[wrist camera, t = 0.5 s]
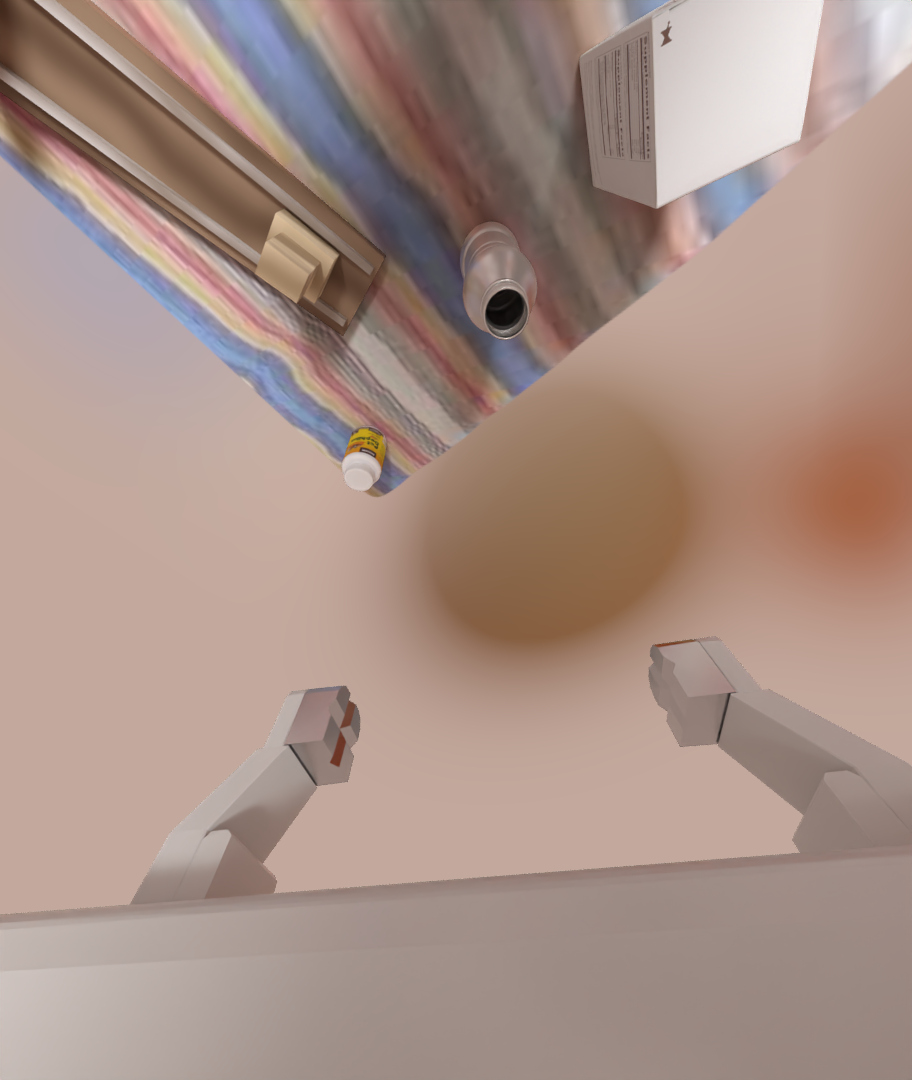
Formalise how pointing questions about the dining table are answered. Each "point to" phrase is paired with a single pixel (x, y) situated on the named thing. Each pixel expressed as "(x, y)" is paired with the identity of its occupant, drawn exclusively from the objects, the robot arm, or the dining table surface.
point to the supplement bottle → (364, 458)
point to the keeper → (295, 259)
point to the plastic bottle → (497, 281)
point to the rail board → (168, 141)
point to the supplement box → (696, 93)
